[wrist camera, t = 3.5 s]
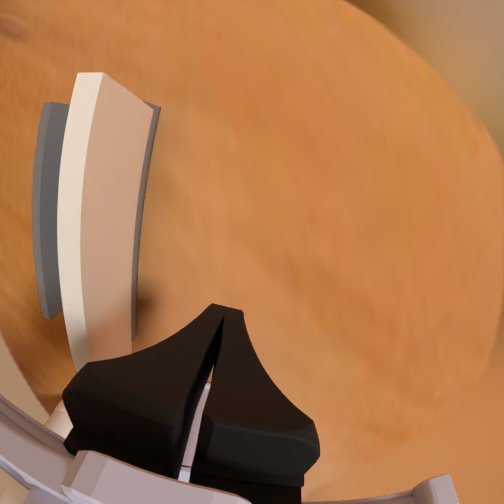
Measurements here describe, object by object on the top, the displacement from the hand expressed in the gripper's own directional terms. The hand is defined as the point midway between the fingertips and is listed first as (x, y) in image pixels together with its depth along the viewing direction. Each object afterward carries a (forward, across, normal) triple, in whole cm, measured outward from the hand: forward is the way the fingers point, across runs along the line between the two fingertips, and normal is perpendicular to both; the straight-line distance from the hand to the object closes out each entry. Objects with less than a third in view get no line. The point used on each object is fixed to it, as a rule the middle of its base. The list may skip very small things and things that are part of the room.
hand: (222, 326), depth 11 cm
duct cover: (+1, +6, 0) cm, 6 cm away
